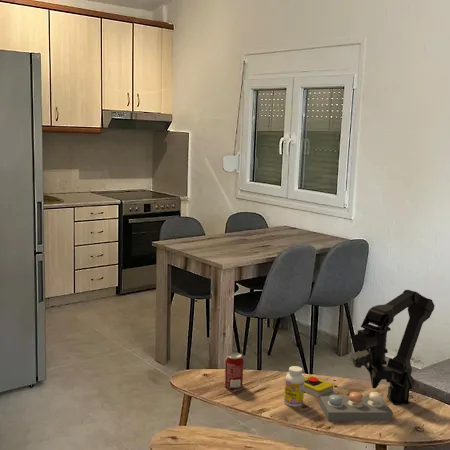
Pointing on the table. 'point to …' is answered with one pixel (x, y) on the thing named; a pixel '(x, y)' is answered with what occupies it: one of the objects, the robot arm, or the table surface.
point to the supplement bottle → (294, 387)
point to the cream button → (375, 397)
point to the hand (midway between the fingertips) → (374, 388)
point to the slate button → (335, 399)
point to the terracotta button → (356, 397)
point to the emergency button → (318, 387)
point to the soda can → (233, 370)
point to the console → (355, 410)
